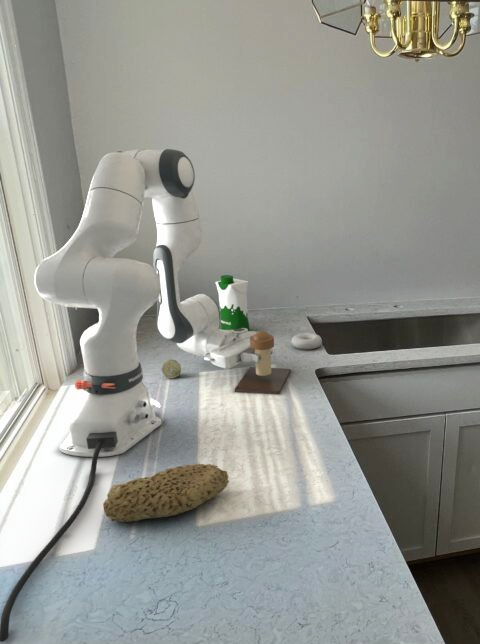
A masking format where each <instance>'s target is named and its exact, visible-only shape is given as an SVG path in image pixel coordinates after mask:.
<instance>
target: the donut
mask: <svg viewBox="0 0 480 644" xmlns="http://www.w3.org/2000/svg"><path fill="white" fill-rule="evenodd" d="M291 344H292V347H294V348H295V349H297V350H304V351H311V350H315V349H317V348H320V347H321V345H322V344H323V339H322V337H321V336H320V335H318V334H316V333H312V332H302V333H298V334H295V335H294V336H293V337H292V339H291Z"/></svg>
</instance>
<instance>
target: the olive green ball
mask: <svg viewBox="0 0 480 644" xmlns="http://www.w3.org/2000/svg"><path fill="white" fill-rule="evenodd" d="M161 371H162V374H163V375H164V377H166V378H167V379H175V378H177V377H178V376H180V375H181V372H182V367H181V364H180V363H179V362H178V361H177V360H174V359H168V360H166V361H165V362H164V363H163V365H162V367H161Z"/></svg>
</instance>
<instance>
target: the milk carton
mask: <svg viewBox="0 0 480 644" xmlns="http://www.w3.org/2000/svg"><path fill="white" fill-rule="evenodd" d="M248 285H249V281H248V280H243V279H239V278H234V275H229V274H224V275H221V276H220V280H217V281H215V286H216V289H217V293H218V301H219V311H220V329H221V330H235V329H240V328H246V329H248V331H251V329H250V323H249V316H248V315H249V314H248V313H249V311H248V299H247V291H248Z"/></svg>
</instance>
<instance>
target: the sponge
mask: <svg viewBox="0 0 480 644" xmlns="http://www.w3.org/2000/svg"><path fill="white" fill-rule="evenodd" d="M229 483H230V481H229V475H228V471H227V470H223V469H221V468H219V467H218V465H215V464H211V463H206V464H204V463H196V464H186V465H179V466H175V467H169V468H165V469H164V471H162V470H160V471H158V472H156V473H155V474H153V475H151V476H146V477H139V478H135V479H132V480H129V481H126V482H120V483H115V484H113V485H112V486H111V488H110V490H109V491H108V493H107V495H106V496H107V498H106V499H105V500H104V501H103V503H102V506H103V512H104V515H105V516H106V517H107V518H108V519H109V520H110V521H111V522H117V523H118V522H121V523H128V522H138V521H139V522H140V521H141V520H142V521H143V520H146V519H159V518H167V517H172V516H176V515H179V514H183V513H185V512H187V511H191V510H193V509H196V508H197V507H198V506H200V505H202V504H203V503H205V502H206V501H208V500H210V499H212V498H214V497H215V496H218V495H220V493H221V492H223V491H224V490H225V489H226V488H227V487H228V484H229Z"/></svg>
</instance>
